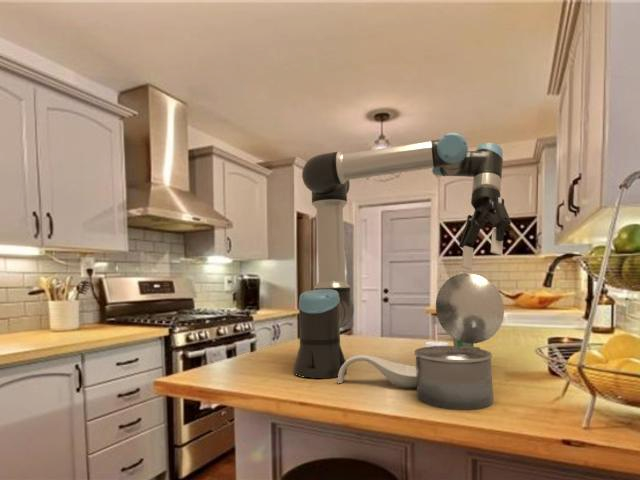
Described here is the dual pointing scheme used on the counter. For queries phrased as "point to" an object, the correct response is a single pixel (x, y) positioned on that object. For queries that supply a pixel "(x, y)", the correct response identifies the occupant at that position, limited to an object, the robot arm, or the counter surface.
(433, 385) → the cooker pot
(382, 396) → the counter surface
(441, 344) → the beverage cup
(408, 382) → the spoon rest
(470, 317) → the lid
